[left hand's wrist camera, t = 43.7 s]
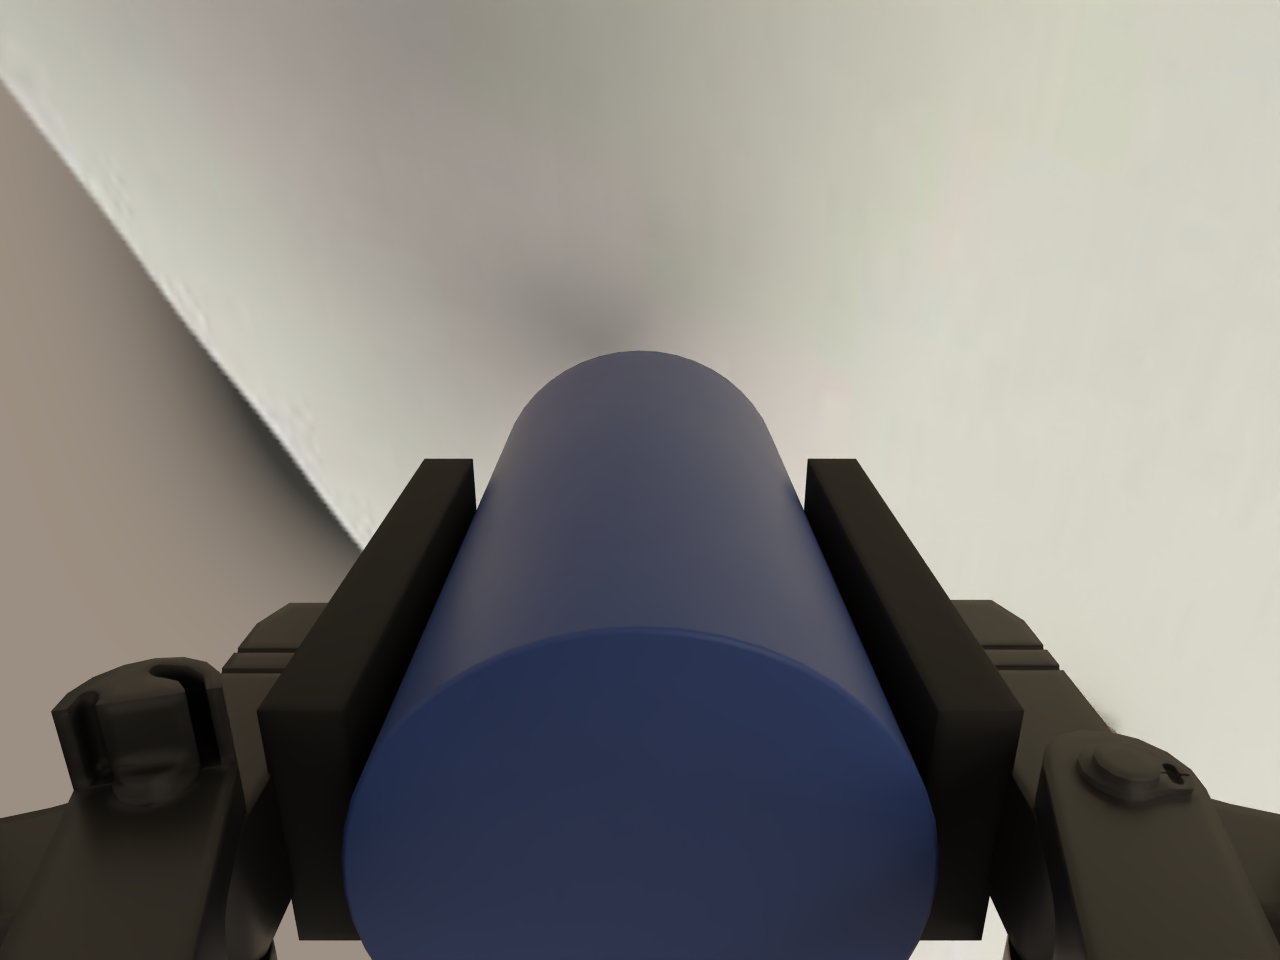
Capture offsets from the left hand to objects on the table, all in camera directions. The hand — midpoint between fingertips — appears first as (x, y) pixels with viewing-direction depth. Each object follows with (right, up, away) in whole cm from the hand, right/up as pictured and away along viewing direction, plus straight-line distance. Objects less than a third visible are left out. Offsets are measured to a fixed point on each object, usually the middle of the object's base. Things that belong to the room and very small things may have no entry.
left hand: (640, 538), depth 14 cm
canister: (0, +1, +2) cm, 3 cm away
